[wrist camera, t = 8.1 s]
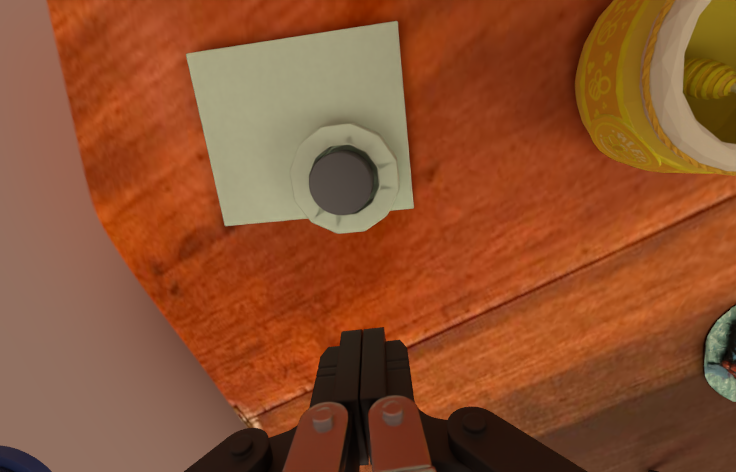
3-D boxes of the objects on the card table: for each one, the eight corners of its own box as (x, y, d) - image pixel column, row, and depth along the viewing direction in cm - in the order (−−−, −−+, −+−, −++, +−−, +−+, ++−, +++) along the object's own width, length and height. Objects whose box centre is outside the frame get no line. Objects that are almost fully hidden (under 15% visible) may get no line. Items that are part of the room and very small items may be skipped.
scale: (234, 231, 28) (214, 244, 25) (195, 56, 25) (168, 48, 22) (414, 215, 27) (415, 227, 24) (397, 25, 23) (396, 12, 20)
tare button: (320, 211, 24) (313, 218, 23) (311, 153, 23) (303, 156, 22) (377, 206, 24) (375, 212, 22) (370, 146, 23) (367, 148, 21)
